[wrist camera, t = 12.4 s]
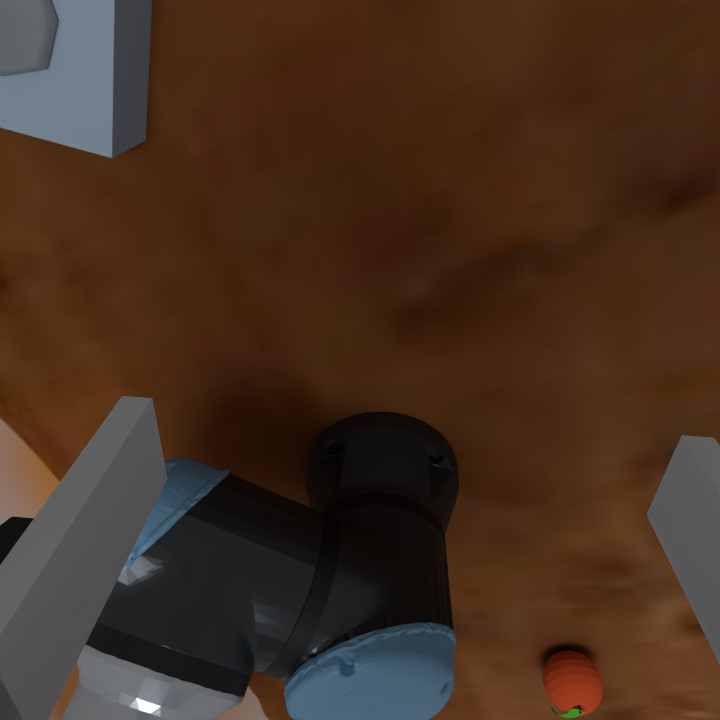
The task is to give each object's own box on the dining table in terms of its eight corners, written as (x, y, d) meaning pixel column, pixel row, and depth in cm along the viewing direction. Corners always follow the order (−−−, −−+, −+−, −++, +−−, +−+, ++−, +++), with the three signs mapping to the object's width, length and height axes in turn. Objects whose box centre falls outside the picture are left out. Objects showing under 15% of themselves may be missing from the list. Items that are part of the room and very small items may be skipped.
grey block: (147, 139, 42) (111, 158, 36) (-33, 89, 40) (-95, 101, 35) (158, -76, 35) (115, -90, 30) (-59, -143, 34) (-141, -169, 29)
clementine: (564, 678, 75) (578, 737, 69) (521, 661, 73) (532, 720, 67) (605, 650, 71) (624, 710, 65) (561, 632, 69) (576, 691, 63)
